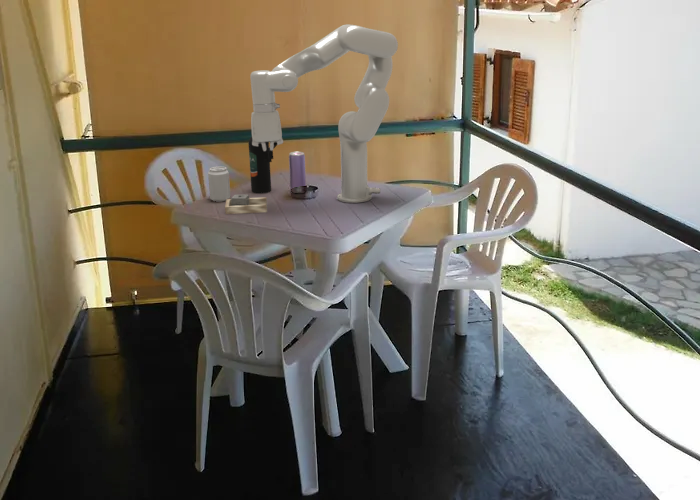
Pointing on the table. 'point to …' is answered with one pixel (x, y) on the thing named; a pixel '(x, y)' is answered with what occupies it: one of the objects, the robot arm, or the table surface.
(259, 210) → the bay
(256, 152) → the wine bottle
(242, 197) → the dice cube
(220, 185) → the can
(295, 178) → the beverage can
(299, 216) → the table surface
